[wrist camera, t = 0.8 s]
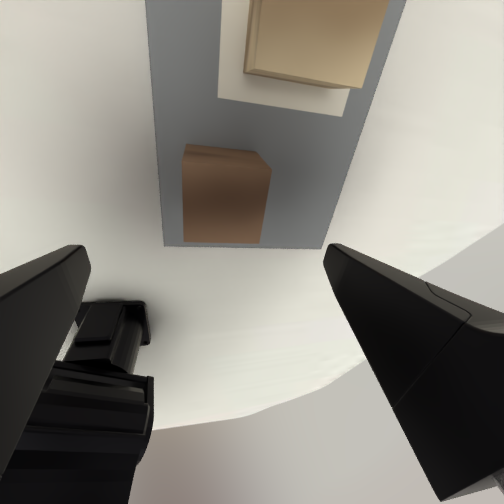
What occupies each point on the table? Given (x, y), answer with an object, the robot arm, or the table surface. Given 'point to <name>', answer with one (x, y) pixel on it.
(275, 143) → the mat
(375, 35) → the oak base block
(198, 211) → the walnut cube
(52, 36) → the table surface
